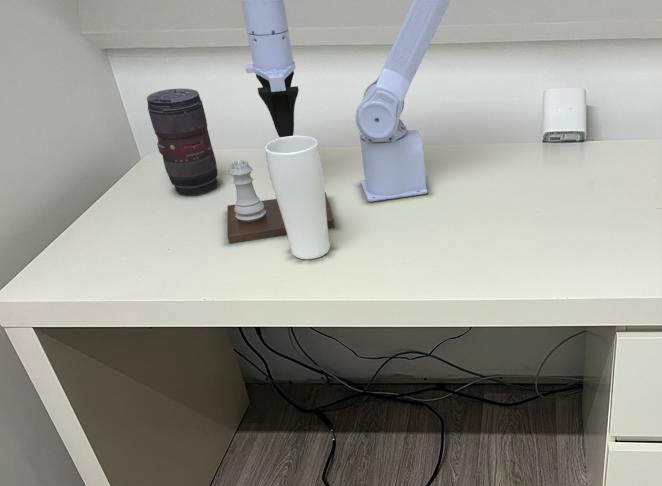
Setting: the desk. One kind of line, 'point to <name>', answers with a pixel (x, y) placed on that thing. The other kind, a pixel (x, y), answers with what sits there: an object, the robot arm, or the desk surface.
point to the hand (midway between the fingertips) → (284, 127)
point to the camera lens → (184, 140)
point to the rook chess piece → (246, 194)
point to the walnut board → (263, 223)
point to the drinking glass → (300, 193)
